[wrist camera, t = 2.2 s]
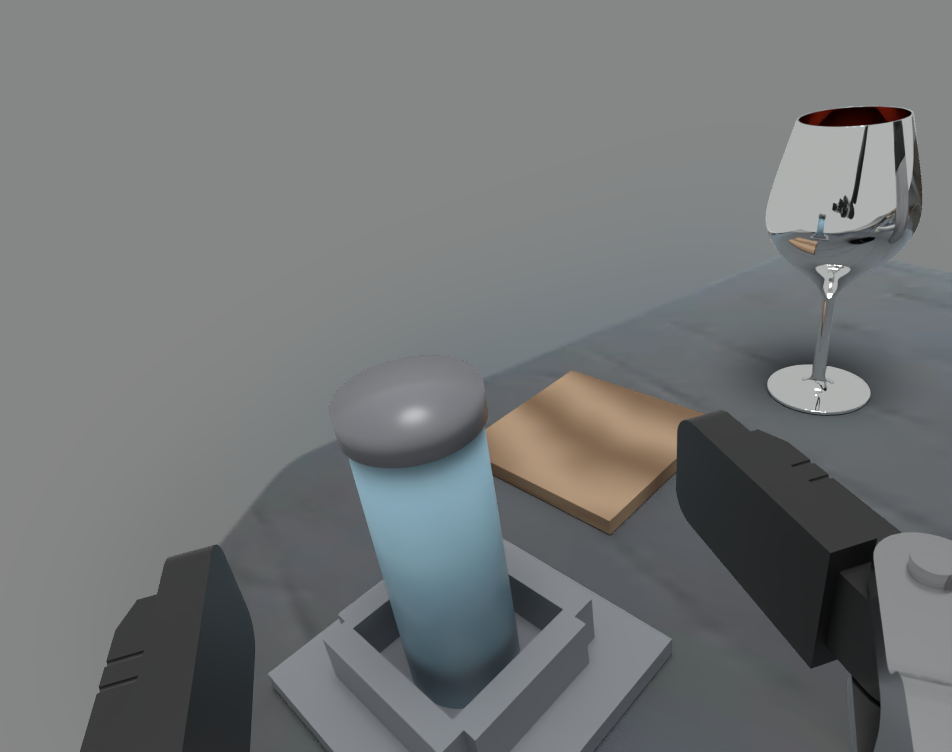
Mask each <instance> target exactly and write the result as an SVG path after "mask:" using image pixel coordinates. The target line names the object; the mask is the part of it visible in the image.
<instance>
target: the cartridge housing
mask: <svg viewBox="0 0 952 752" xmlns="http://www.w3.org/2000/svg"><path fill="white" fill-rule="evenodd" d="M503 545H504V551H505V557H506V563H507V570H508V576H509V582H510V589H511V595H512V601H513V607H514V614H515V620H516V626H517V633H518V639H519V645H520V653H519V654H518V655H517V656H516V657H515V658H514V659H513V660H512V661H511V662H510V663H509V664H508V665H507V666H506V667H505V668H504V669H503V670H502V671H501V672H500V673H499V674H498V675H497V676H496V677H495V678H494V679H493V680H492V681H491V682H490V683H489V684H488V685H487V686H486V687H485V688H484V689H483V690H482V691H481V692H480V693H479V694H478V695H477V696H476V697H475V698H474V699H473V700H472V701H471V702H470V703H469V704H468V705H467V706H466V707H465V708H464V709H453V708H446V707H442V706H439V705H437V704H435V703H434V702H433V701H431V700H430V699H429V698H428V697H427V696H426V695H425V694H424V693H423V692H422V691H421V690H419V689H418V688H417V687H416V686H415V684H414V682H413V679H412V676H411V672H410V669H409V665H408V662H407V658H406V655H405V651H404V648H403V645H402V641H401V638H400V634H399V631H398V627H397V624H396V620H395V617H394V613H393V610H392V607H391V603H390V600H389V596H388V593H387V589H386V586H385V582H384V579H383V580H382V581H380V582H379V583H378V584H376V585H375V586H374V587H373V588H371V589H370V590H369V591H367V592H366V593H365V594H363V595H362V596H361V597H360V598H358V599H357V600H356V601H354V602H353V603H352V604H350V605H349V606H348V607H347V608H345V609H344V610H343V611H341V612H340V613H339V614H338V617H339V619H338V620H337V621H335V622H334V623H333V624H331V625H330V626H329V627H328V628H326V629H325V630H324V631H322V632H321V633H320V634H319V635H317V636H316V637H315V638H313V639H312V640H311V641H309V642H308V643H307V644H306V645H304V646H303V647H302V648H300V649H299V650H298V651H297V652H295V653H294V654H293V655H291V656H290V657H289V658H288V659H286V660H285V661H284V662H282V663H281V664H280V665H279V666H277V667H276V668H275V669H273V670H272V671H271V672H270V673H268V676H269V678H270V680H271V682H272V684H273V687H274V688H275V689H276V691H277V692H278V693H279V694H280V695H281V697H282V698H283V699H284V700H285V701H286V702H287V704H288V705H289V706H290V707H291V708H292V710H293V711H294V712H295V713H296V714H297V716H298V717H299V718H300V719H301V720H302V722H303V723H304V724H305V725H306V726H307V727H308V729H309V730H310V731H311V732H312V733H313V735H314V736H315V737H316V738H317V739H318V741H319V742H320V743H321V744H322V745H323V746H324V748H325V749H326V750H327V751H328V752H594V750H595V749H596V748H597V747H598V745H599V744H600V743H601V742H602V740H603V739H604V738H605V737H606V735H607V734H608V733H609V732H610V730H611V729H612V728H613V727H614V725H615V724H616V723H617V722H618V720H619V719H620V718H621V717H622V715H623V714H624V713H625V712H626V710H627V709H628V708H629V707H630V706H631V704H632V703H633V702H634V701H635V699H636V698H637V697H638V696H639V694H640V693H641V692H642V691H643V689H644V688H645V687H646V686H647V684H648V683H649V682H650V681H651V679H652V678H653V677H654V676H655V674H656V673H657V672H658V671H659V669H660V668H661V667H662V666H663V664H664V663H665V662H666V661H667V659H668V658H669V657H670V656H671V654H672V639H671V638H669V637H668V636H666V635H664V634H663V633H661V632H659V631H657V630H656V629H654V628H652V627H651V626H649V625H647V624H646V623H644V622H642V621H641V620H639V619H637V618H636V617H634V616H632V615H631V614H629V613H627V612H626V611H624V610H622V609H621V608H619V607H617V606H615V605H614V604H612V603H610V602H609V601H607V600H605V599H604V598H602V597H600V596H599V595H597V594H595V593H594V592H592V591H590V590H589V589H587V588H585V587H584V586H582V585H580V584H579V583H577V582H575V581H574V580H572V579H570V578H568V577H567V576H565V575H563V574H562V573H560V572H558V571H557V570H555V569H553V568H552V567H550V566H548V565H547V564H545V563H543V562H542V561H540V560H538V559H537V558H535V557H533V556H532V555H530V554H528V553H527V552H525V551H523V550H521V549H520V548H518V547H516V546H515V545H513V544H511V543H510V542H508V541H506V540H505V539H503Z"/></svg>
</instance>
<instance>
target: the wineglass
mask: <svg viewBox="0 0 952 752" xmlns="http://www.w3.org/2000/svg"><path fill="white" fill-rule="evenodd" d="M921 181H922V180H921V169H920V160H919V151H918V144H917V135H916V127H915V120H914V113H913V111H911V110H909V109H905V108H900V107H889V106H856V107H843V108H834V109H827V110H821V111H816V112H812V113H808V114H805V115H802V116H800V117H799V118H797V120H796V123H795V126H794V128H793V131H792V134H791V136H790V139H789V142H788V144H787V147H786V150H785V153H784V155H783V158H782V161H781V163H780V166H779V169H778V172H777V175H776V178H775V181H774V184H773V187H772V190H771V193H770V197H769V201H768V205H767V211H766V226H767V231H768V234H769V236H770V239H771V241H772V243H773V244H774V246H775V248H776V249H777V250H778V251H779V253H780V254H781V255H782V256H783V257H784V258H785V259H786V260H787V261H788V262H789V263H790V264H791V265H793V266H794V267H795V268H796V269H798V270H799V271H800V272H802V273H803V274H804V275H805V276H806V277H808V278H809V279H810V280H811V281H812V282H813V283H814V284H815V285H816V287H817V288H818V290H819V291H820V294H821V296H822V299H821V308H820V317H819V325H818V333H817V340H816V348H815V355H814V361H813V365H812V364H807V365H795V366H790V367H786V368H783V369H780V370H778V371H776V372H775V373H773V374H772V375H771V376H770V378H769V379H768V382H767V389H768V392H769V393H770V395H771V396H772V397H773V398H774V399H775V400H776V401H778V402H779V403H781V404H783V405H784V406H787V407H789V408H791V409H794V410H797V411H801V412H805V413H811V414H819V415H837V414H844V413H849V412H853V411H855V410H858V409H860V408H862V407H863V406H864V405H865V404H866V403H867V402H868V401H869V399H870V388H869V386H868V385H867V383H866V382H865V381H864V380H862V379H861V378H860V377H858V376H856V375H855V374H853V373H850V372H848V371H845V370H843V369H839V368H835V367H831V366H827V358H828V349H829V342H830V334H831V327H832V321H833V314H834V307H835V301H836V297H837V295H838V294H839V293H840V292H841V291H842V290H843V289H844V288H845V287H846V286H847V285H848V284H850V283H851V282H853V281H854V280H856V279H858V278H859V277H861V276H863V275H865V274H866V273H868V272H870V271H872V270H874V269H875V268H877V267H879V266H880V265H882V264H884V263H885V262H887V261H888V260H889V259H891V258H892V257H893V256H895V255H896V254H897V253H898V252H899V251H900V250H901V249H902V248H903V247H904V246H905V245H906V244H907V243H908V241H909V240H910V239H911V238H912V236H913V235H914V233H915V231H916V229H917V227H918V225H919V222H920V218H921V213H922V182H921Z"/></svg>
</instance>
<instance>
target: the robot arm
mask: <svg viewBox="0 0 952 752" xmlns="http://www.w3.org/2000/svg"><path fill="white" fill-rule="evenodd" d="M676 492H677V498H678V502H679V505H680V508H681V510H682V512H683V514H684V516H685V518H686V520H687V521H688V523H689V524H690V525H691V526H692V528H693V529H694V530H695V531H696V532H697V533H698V535H699V536H700V537H701V538H702V539H703V541H704V542H705V543H706V544H707V545H708V547H709V548H710V549H711V550H712V551H713V553H714V554H715V555H716V556H717V557H718V559H719V560H720V561H721V562H722V563H723V565H724V566H725V567H726V568H727V569H728V570H729V572H730V573H731V574H732V575H733V576H734V578H735V579H736V580H737V581H738V582H739V584H740V585H741V586H742V587H743V588H744V590H745V591H746V592H747V593H748V594H749V596H750V597H751V598H752V599H753V600H754V601H755V603H756V604H757V605H758V606H759V607H760V609H761V610H762V611H763V612H764V613H765V615H766V616H767V617H768V618H769V619H770V621H771V622H772V623H773V624H774V625H775V627H776V628H777V629H778V630H779V631H780V633H781V634H782V635H783V636H784V637H785V638H786V640H787V641H788V642H789V643H790V644H791V646H792V647H793V648H794V649H795V650H796V652H797V653H798V654H799V655H800V656H801V658H802V659H803V660H804V661H805V662H806V664H807V665H808V666H809V667H810V668H814V667H817V666H820V665H823V664H825V663H828V662H831V661H834V660H837V659H838V660H839V661H840V663H841V664H842V665H843V666H844V667H845V668H846V669H847V670H848V675H847V680H846V692H847V707H848V721H849V736H850V750H851V752H952V541H951V540H948V539H946V538H942V537H939V536H935V535H930V534H925V533H901V532H900V531H899V530H898V529H896V528H895V527H894V526H893V525H891V524H890V523H889V522H888V521H886V520H885V519H884V518H883V517H881V516H880V515H879V514H877V513H876V512H875V511H874V510H872V509H871V508H870V507H869V506H867V505H866V504H865V503H864V502H862V501H861V500H860V499H859V498H857V497H856V496H855V495H854V494H852V493H851V492H850V491H849V490H847V489H846V488H845V487H844V486H842V485H841V484H840V483H839V482H837V481H836V480H835V479H834V478H831V479H830V478H829V476H828V474H827V473H826V472H825V471H823V470H822V469H821V468H820V467H818V466H817V465H816V464H815V463H813V464H811V462H810V459H808V458H807V457H806V456H805V455H803V454H802V453H801V452H800V451H798V450H797V449H796V448H795V447H793V446H792V445H791V444H790V443H788V442H786V441H784V440H782V439H779V438H777V437H775V436H772V435H770V434H767V433H765V432H763V431H760V430H755V431H751V432H750V431H749V430H748V429H747V428H745V427H744V426H743V425H742V424H741V423H740V422H738V421H737V420H736V419H735V418H734V417H732V416H731V415H730V414H729V413H727V412H725V411H722V410H720V411H716V412H712V413H708V414H705V415H701V416H697V417H694V418H690V419H686V420H683V421H681V422H680V423H679V425H678V429H677V470H676ZM254 661H255V638H254V631H253V625H252V621H251V617H250V614H249V611H248V608H247V606H246V604H245V601H244V599H243V597H242V594H241V592H240V590H239V587H238V585H237V583H236V580H235V578H234V576H233V573H232V571H231V569H230V566H229V564H228V562H227V559H226V557H225V555H224V553H223V551H222V549H221V548H220V546H218V545H212V546H209V547H205V548H201V549H198V550H194V551H190V552H186V553H183V554H179V555H175V556H172V557H169V558H167V559H166V561H165V564H164V568H163V572H162V576H161V580H160V584H159V589H158V593H157V595H153V596H150V597H146V598H143V599H139V600H137V601H136V602H135V604H134V605H133V607H132V608H131V609H130V611H129V612H128V614H127V615H126V616H125V618H124V619H123V620H122V622H121V623H120V625H119V626H118V627H117V629H116V630H115V634H114V637H113V641H112V644H111V648H110V651H109V654H108V658H107V667H105V668H104V671H103V675H102V678H101V682H100V685H99V689H100V693H98V694H97V695H96V699H95V702H94V706H93V709H92V713H91V716H90V719H89V723H88V726H87V730H86V733H85V736H84V740H83V743H82V747H81V750H80V752H250V738H251V719H252V699H253V680H254Z"/></svg>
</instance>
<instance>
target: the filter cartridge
mask: <svg viewBox="0 0 952 752" xmlns="http://www.w3.org/2000/svg"><path fill="white" fill-rule="evenodd" d="M329 414H330V417H331V421H332V424H333V428H334V431H335V435H336V438H337V442H338V445H339V447H340V449H341V451H342V452H343V453H344V454H345V455H346V456H347V457H348V458H349V462H350V465H351V468H352V472H353V475H354V479H355V482H356V486H357V489H358V493H359V496H360V500H361V503H362V506H363V510H364V513H365V517H366V520H367V524H368V527H369V531H370V534H371V538H372V541H373V544H374V548H375V551H376V555H377V558H378V562H379V565H380V569H381V572H382V575H383V579H384V582H385V586H386V589H387V593H388V596H389V600H390V603H391V607H392V610H393V613H394V617H395V620H396V624H397V627H398V631H399V634H400V638H401V641H402V645H403V648H404V651H405V655H406V658H407V662H408V665H409V669H410V672H411V676H412V679H413V682H414V684H415V686H416V687H417V688H418V689H419V690H421V691H422V692H423V693H424V694H425V695H426V696H427V697H428V698H429V699H430V700H431V701H433V702H434V703H435V704H437V705H439V706H442V707H446V708H453V709H464V708H465V707H466V706H467V705H468V704H469V703H470V702H471V701H472V700H473V699H474V698H475V697H476V696H477V695H478V694H479V693H480V692H481V691H482V690H483V689H484V688H485V687H486V686H487V685H488V684H489V683H490V682H491V681H492V680H493V679H494V678H495V677H496V676H497V675H498V674H499V673H500V672H501V671H502V670H503V669H504V668H505V667H506V666H507V665H508V664H509V663H510V662H511V661H512V660H513V659H514V658H515V657H516V656H517V655H518V654H519V653H520V645H519V639H518V633H517V626H516V620H515V614H514V607H513V601H512V595H511V589H510V582H509V576H508V570H507V563H506V557H505V551H504V545H503V538H502V532H501V526H500V519H499V513H498V507H497V501H496V494H495V488H494V482H493V475H492V469H491V463H490V457H489V450H488V444H487V438H486V431H485V424H486V421H487V418H488V409H487V402H486V395H485V389H484V382H483V377H482V375H481V373H480V372H479V371H478V369H476V368H475V367H474V366H473V365H471V364H470V363H468V362H466V361H464V360H461V359H458V358H453V357H449V356H440V355H420V356H411V357H404V358H399V359H395V360H391V361H387V362H384V363H381V364H378V365H376V366H373V367H371V368H369V369H366V370H364V371H362V372H360V373H359V374H357V375H355V376H354V377H352V378H351V379H349V380H348V381H347V382H345V383H344V384H343V385H342V386H341V387H340V388H339V389H338V390H337V391H336V393H335V394H334V395H333V397H332V399H331V401H330V405H329Z"/></svg>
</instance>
